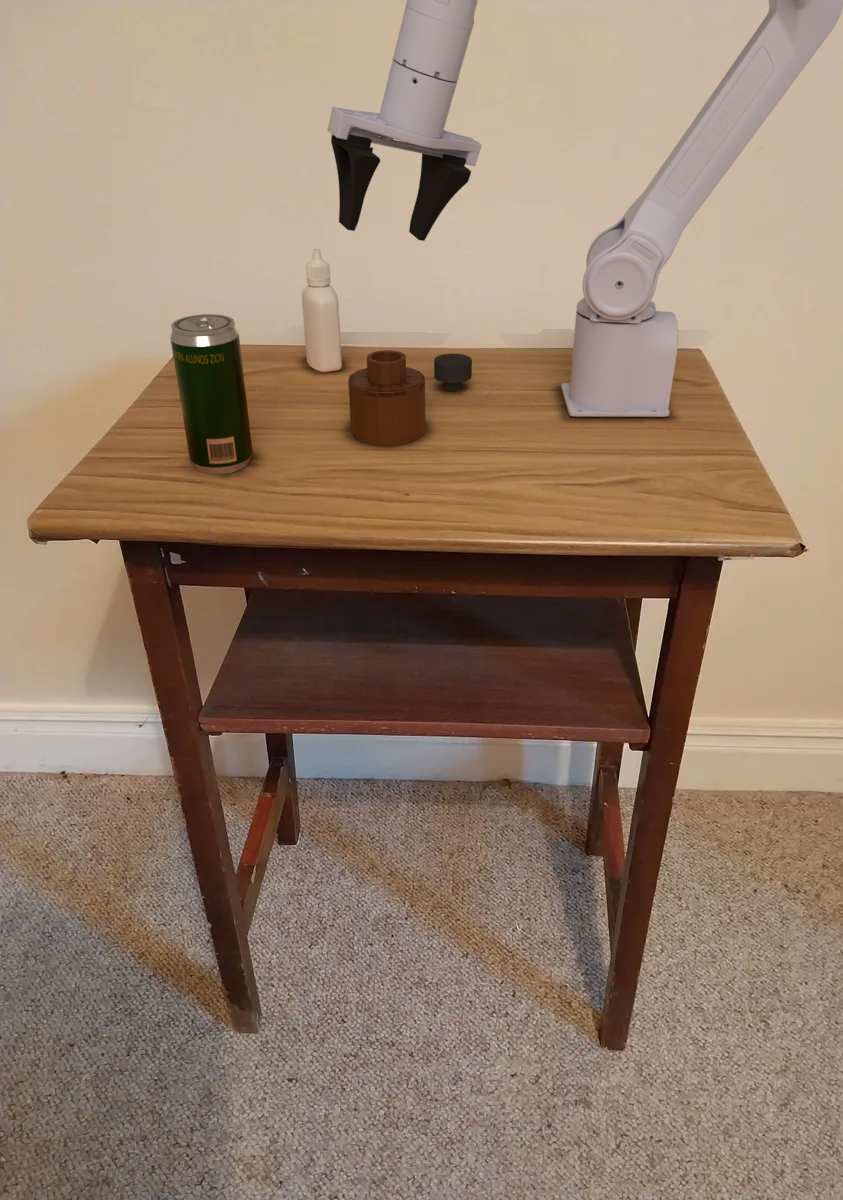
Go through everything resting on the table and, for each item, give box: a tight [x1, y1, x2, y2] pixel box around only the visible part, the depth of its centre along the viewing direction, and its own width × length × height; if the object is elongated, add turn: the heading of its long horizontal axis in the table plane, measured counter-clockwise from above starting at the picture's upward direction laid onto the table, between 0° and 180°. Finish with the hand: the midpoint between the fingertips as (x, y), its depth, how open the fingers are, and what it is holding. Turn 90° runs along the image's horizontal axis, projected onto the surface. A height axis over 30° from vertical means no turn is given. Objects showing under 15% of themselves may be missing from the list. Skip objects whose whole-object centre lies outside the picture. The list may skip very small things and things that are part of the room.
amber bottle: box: [347, 349, 426, 447], centre depth 82 cm, size 7×7×7 cm
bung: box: [433, 353, 473, 392], centre depth 92 cm, size 4×4×3 cm
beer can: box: [169, 313, 254, 475], centre depth 75 cm, size 5×5×12 cm
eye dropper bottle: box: [301, 248, 343, 373], centre depth 96 cm, size 4×6×12 cm
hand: (382, 231), depth 84 cm, fingers open, 7 cm apart
